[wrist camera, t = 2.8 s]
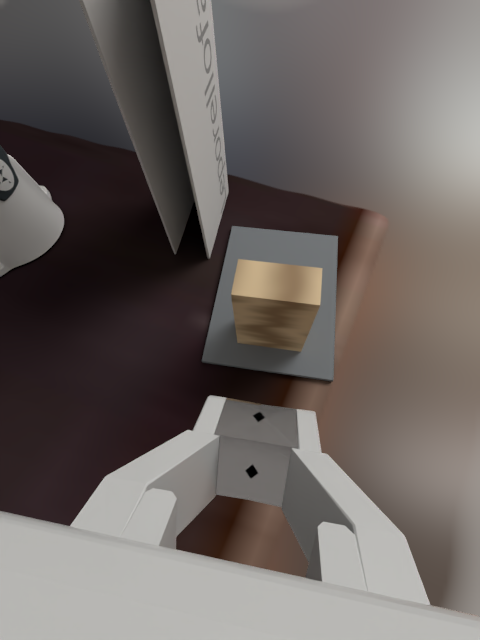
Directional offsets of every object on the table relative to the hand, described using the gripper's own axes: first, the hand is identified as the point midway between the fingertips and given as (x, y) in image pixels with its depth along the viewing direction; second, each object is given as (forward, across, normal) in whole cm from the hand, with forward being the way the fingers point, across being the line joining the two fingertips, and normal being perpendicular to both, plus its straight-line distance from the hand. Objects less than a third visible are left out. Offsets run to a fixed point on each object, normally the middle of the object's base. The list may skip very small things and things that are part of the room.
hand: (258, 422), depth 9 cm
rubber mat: (+34, 0, +5) cm, 34 cm away
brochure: (+42, +13, -4) cm, 44 cm away
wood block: (+29, 0, +8) cm, 30 cm away
